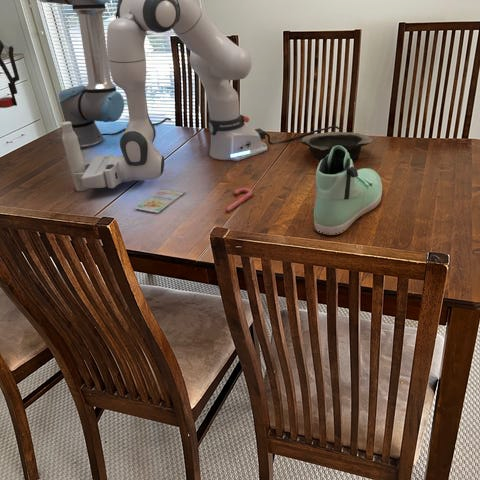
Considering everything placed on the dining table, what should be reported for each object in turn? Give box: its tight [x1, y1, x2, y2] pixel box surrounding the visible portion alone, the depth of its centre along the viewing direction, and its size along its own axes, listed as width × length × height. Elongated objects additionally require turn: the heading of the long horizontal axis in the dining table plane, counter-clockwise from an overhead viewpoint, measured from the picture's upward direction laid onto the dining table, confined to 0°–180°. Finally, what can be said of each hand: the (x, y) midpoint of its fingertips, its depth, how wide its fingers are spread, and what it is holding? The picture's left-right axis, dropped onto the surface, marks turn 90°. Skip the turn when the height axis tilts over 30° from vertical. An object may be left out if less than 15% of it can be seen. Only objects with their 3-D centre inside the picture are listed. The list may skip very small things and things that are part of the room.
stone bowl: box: [300, 131, 374, 164], centre depth 169 cm, size 25×25×9 cm
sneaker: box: [313, 146, 383, 236], centre depth 133 cm, size 14×35×20 cm, turn 152°
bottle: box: [60, 121, 90, 192], centre depth 159 cm, size 5×5×23 cm
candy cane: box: [224, 187, 254, 213], centre depth 147 cm, size 6×15×2 cm, turn 145°
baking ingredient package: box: [134, 188, 184, 214], centre depth 151 cm, size 9×1×15 cm
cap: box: [0, 96, 15, 109], centre depth 150 cm, size 4×4×2 cm
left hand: (7, 106), depth 151 cm, fingers closed on cap, 4 cm apart
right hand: (75, 171), depth 162 cm, fingers closed on bottle, 5 cm apart
